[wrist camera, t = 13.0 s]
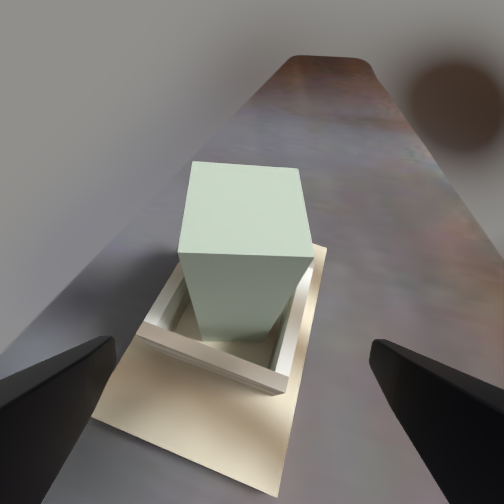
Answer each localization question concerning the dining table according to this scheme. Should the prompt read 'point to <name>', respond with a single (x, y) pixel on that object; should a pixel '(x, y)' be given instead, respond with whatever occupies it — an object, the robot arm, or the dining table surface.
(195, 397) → the holder
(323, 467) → the dining table surface
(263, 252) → the peg
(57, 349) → the dining table surface
